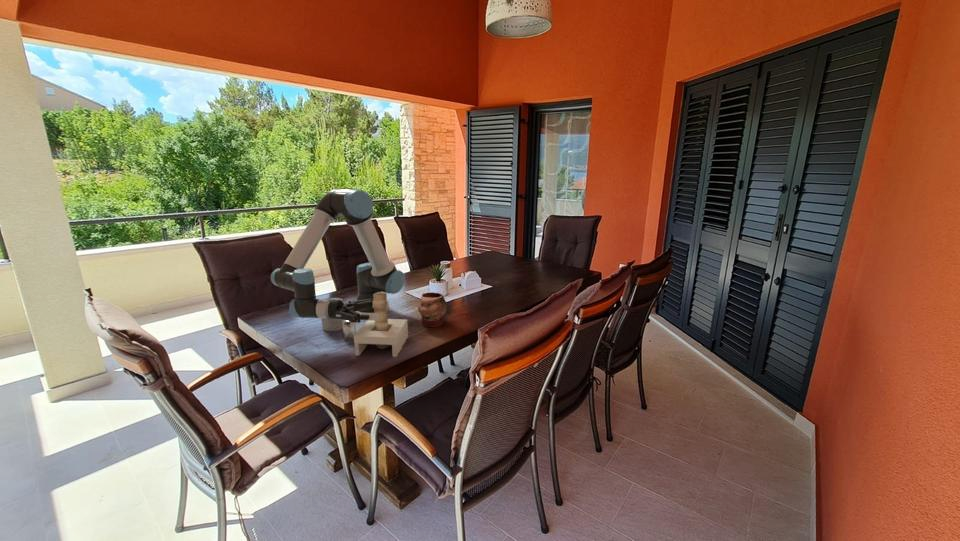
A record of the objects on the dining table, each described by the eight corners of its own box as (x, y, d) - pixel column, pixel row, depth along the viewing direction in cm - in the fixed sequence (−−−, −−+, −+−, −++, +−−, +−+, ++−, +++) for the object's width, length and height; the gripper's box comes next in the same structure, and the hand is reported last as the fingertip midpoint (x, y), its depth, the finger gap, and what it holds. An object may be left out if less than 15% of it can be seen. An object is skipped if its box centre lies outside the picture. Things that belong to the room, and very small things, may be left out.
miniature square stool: (371, 335, 164) (369, 318, 162) (407, 337, 163) (407, 319, 161) (355, 355, 146) (353, 336, 144) (396, 356, 145) (395, 337, 143)
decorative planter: (428, 313, 189) (427, 286, 186) (452, 315, 187) (451, 288, 183) (413, 329, 170) (412, 300, 167) (439, 332, 168) (439, 302, 165)
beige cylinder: (349, 324, 175) (347, 299, 172) (335, 332, 167) (332, 305, 163) (332, 321, 178) (329, 296, 175) (317, 329, 170) (314, 303, 166)
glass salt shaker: (346, 335, 164) (345, 318, 162) (358, 335, 163) (356, 318, 161) (341, 340, 159) (340, 322, 157) (353, 340, 159) (352, 322, 157)
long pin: (378, 342, 157) (375, 291, 151) (390, 343, 157) (387, 292, 151) (374, 348, 152) (371, 295, 147) (387, 348, 152) (384, 296, 146)
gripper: (344, 307, 165) (392, 308, 163) (317, 330, 140) (373, 332, 139) (342, 290, 163) (391, 291, 162) (315, 311, 138) (372, 313, 137)
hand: (383, 310), depth 150 cm, fingers open, 13 cm apart
